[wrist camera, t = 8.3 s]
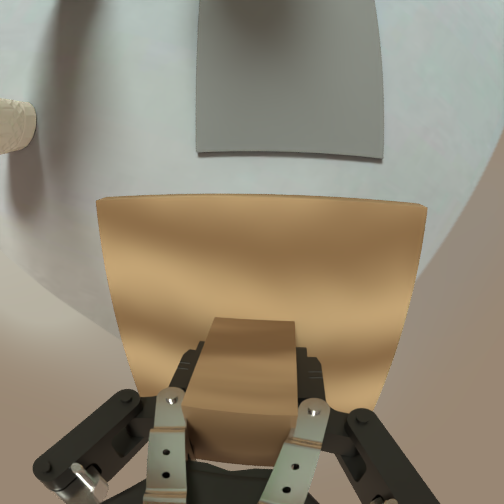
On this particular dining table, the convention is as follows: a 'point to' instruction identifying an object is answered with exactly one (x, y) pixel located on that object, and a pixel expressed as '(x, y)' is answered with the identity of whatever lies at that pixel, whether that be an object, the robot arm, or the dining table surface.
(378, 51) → the grey mat
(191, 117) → the dining table surface
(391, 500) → the robot arm
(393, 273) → the oak lid
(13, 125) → the white cup
